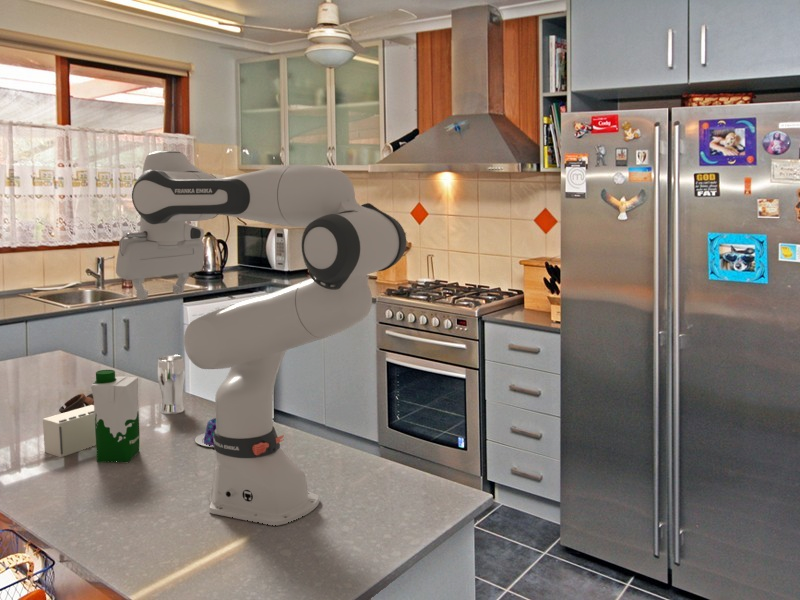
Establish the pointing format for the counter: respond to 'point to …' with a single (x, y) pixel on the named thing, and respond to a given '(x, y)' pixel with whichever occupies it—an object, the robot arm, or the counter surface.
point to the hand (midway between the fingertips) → (160, 296)
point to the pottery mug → (77, 402)
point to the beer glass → (171, 383)
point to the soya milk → (116, 416)
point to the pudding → (207, 434)
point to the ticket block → (69, 431)
